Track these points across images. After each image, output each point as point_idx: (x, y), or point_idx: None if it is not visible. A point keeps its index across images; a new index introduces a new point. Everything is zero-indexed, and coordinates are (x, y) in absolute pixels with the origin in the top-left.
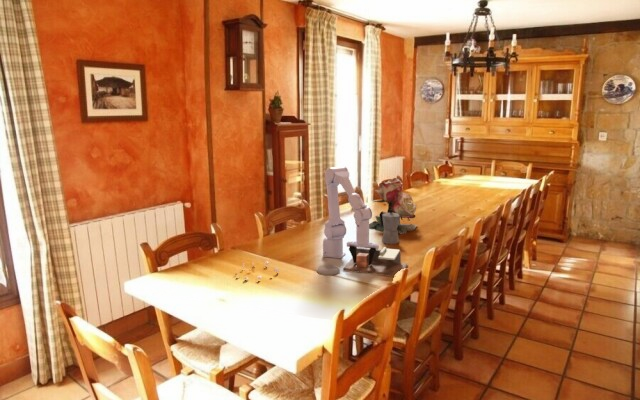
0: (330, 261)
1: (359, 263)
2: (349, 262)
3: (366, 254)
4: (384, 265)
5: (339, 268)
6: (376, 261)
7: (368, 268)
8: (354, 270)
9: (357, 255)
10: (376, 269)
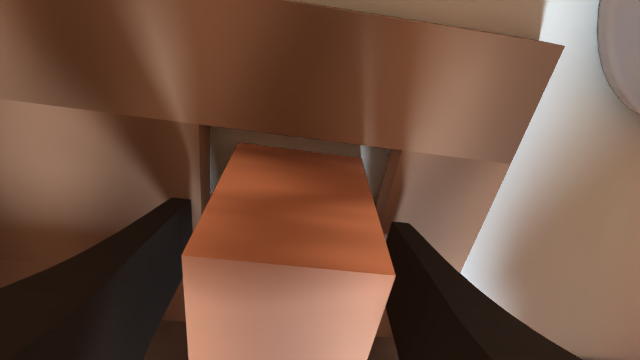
0: (630, 291)
1: (326, 187)
2: (454, 256)
3: (215, 350)
4: (21, 232)
5: (624, 28)
6: (163, 321)
7: (178, 91)
8: (382, 16)
9: (376, 287)
10: (45, 67)
